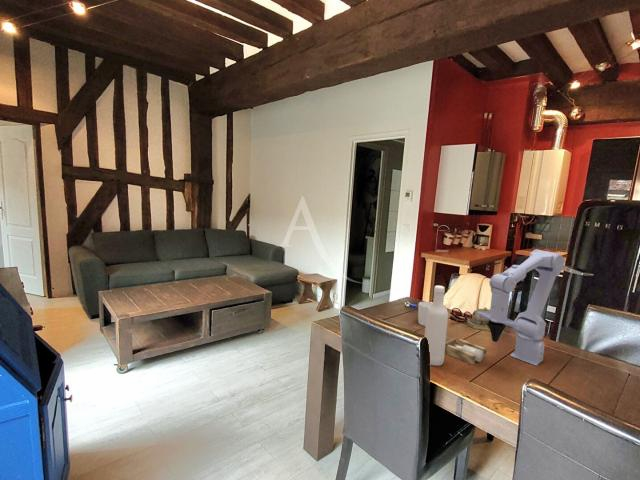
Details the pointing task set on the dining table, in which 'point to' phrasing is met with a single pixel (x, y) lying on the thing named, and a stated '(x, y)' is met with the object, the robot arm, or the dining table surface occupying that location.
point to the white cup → (422, 312)
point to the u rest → (461, 353)
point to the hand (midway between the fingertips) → (495, 340)
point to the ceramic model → (479, 320)
